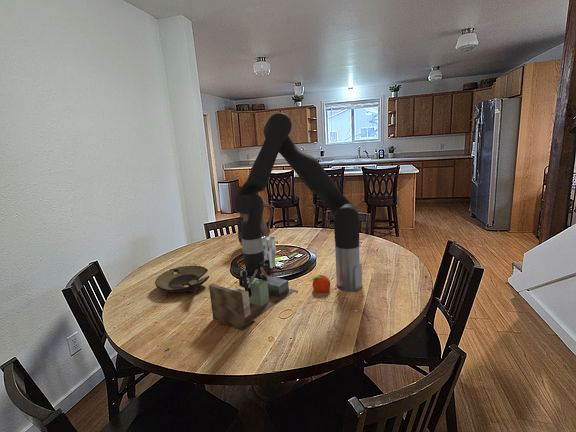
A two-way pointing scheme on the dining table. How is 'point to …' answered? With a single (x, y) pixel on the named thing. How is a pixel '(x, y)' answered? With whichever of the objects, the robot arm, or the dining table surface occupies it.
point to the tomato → (321, 283)
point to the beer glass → (269, 250)
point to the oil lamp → (181, 279)
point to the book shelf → (238, 306)
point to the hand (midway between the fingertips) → (257, 291)
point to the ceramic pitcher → (264, 226)
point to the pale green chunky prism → (259, 292)
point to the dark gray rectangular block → (277, 286)
